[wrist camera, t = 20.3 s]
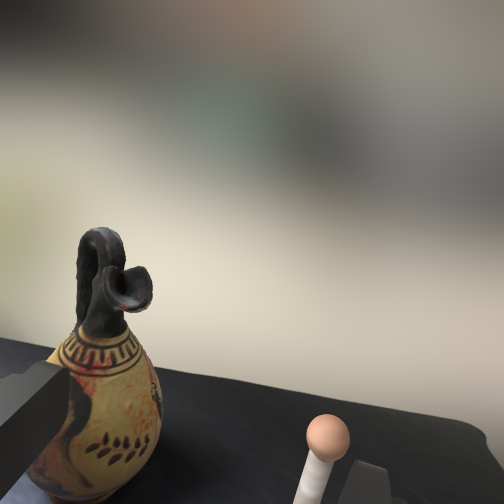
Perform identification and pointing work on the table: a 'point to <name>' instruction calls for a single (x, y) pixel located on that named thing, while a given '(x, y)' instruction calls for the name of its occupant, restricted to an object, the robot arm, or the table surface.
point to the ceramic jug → (103, 382)
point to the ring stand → (321, 456)
